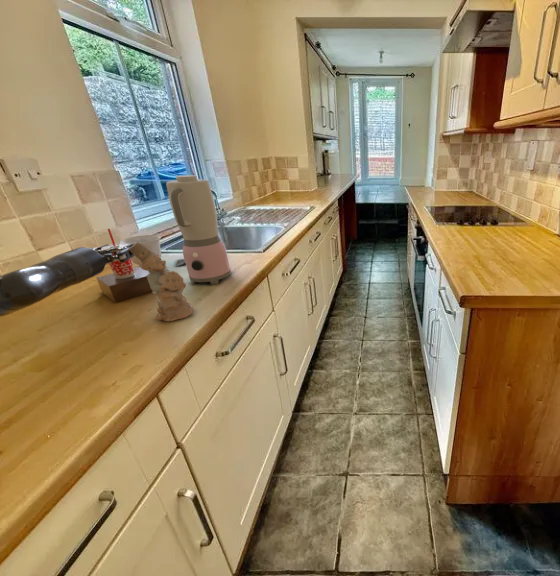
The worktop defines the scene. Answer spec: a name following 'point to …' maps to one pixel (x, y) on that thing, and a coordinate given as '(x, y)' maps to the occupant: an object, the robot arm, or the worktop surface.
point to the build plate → (181, 262)
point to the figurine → (163, 285)
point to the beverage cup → (120, 268)
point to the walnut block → (125, 285)
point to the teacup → (148, 241)
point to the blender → (198, 229)
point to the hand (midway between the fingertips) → (121, 247)
